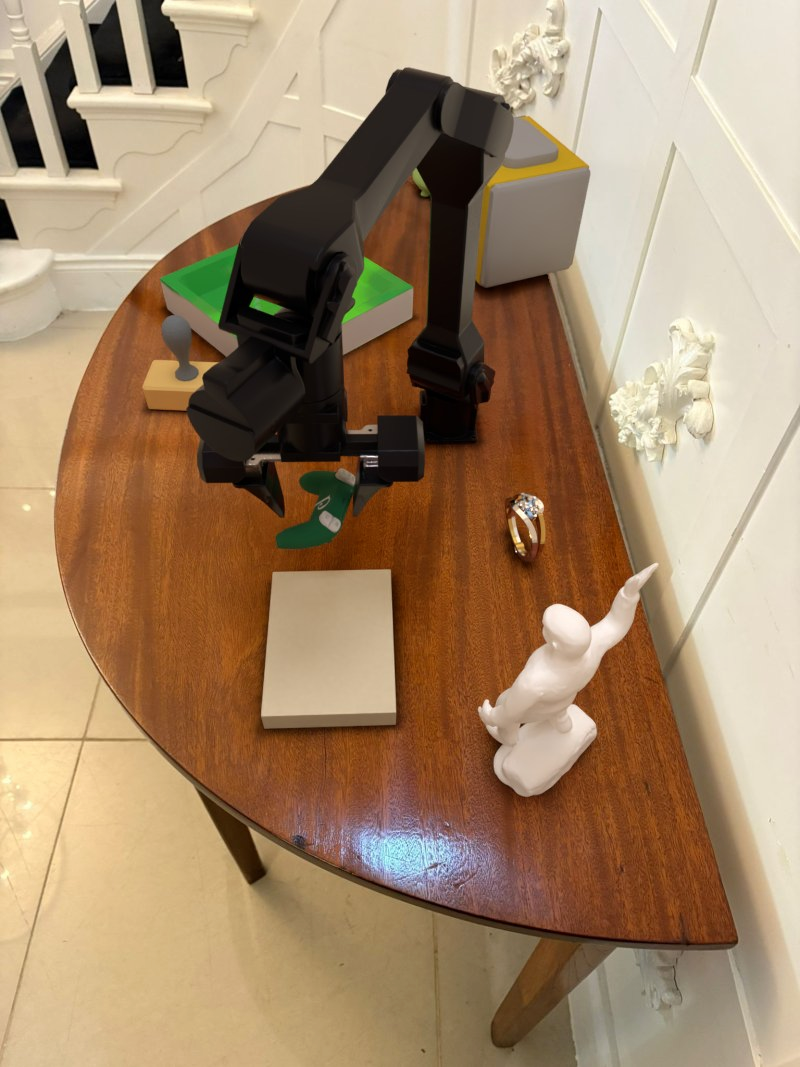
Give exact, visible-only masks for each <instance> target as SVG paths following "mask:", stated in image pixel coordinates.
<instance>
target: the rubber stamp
mask: <svg viewBox="0 0 800 1067" xmlns="http://www.w3.org/2000/svg"><path fill="white" fill-rule="evenodd" d="M161 336H162V340H163V342H164V344H165V345H166V347H167V348H168V350H170V351H171V353H172V354H173V356H174V357H175V359H176V360H170V359H169V360H167V359H154V360H152V362H151V364H150V367H149V368H148V372H147V374H146V377H145V379H144V382H143V384H142V387H141V388H142V391H143V395H144V399H145V401H146V405H147V407H148V410H164V411H165V410H166V411H185V412H187V410H186V408H187V407H188V402H189V398H190V396H191V395H192V394H193V393H194V392H195V391H196V390H197V389H198V388H200V387H201V386H202V385H203V380H202V377H203V374H204V373H205V372H206V371H208V370H209V369H210V368H211V367H212V366H214V365H215V364H217V363H219V362H220V361H219V362H217V361H216V362H214V361H195V360H194V361H191V360H190V358H189V357H190V351H191V346H192V340H193V336H192V329H191V327H190V325H189V323H188V322H187V321H186V320H185V319H184V318H183V317H181V316H178V315H174V314H172V315H169V316H167V317H165V319H164V320H163V321H162V323H161Z"/></svg>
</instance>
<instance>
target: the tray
mask: <svg viewBox="0 0 800 1067" xmlns="http://www.w3.org/2000/svg"><path fill="white" fill-rule="evenodd" d="M238 245H239V244H237V245H234V246H232V247H229V248H227V249H225V250H222V251H220V252H218V253H215V254H213V255H211V256H208V257H206V258H203V259H201V260H198V261H196V262H194V263H192V264H190V265H186V266H185V267H183V268H180V269H177V270H176V271H173V272H170V273H168V274H166V275H164V276H161V277H160V278H159V281H160V286H161V290H162V293H163V297H164V301H165V306H166V309H167V310H168V311H169V312H170V313H171V314H172V315H178V316H181V317H183V318H184V319H185V320H186V321H187V322H188V323H189V325H190V327H191V330H193V331H194V332H195V333H196V334H197V335H199V337H201V338H202V339H204V340H205V341H206V342H207V343H209V344H210V345H211V346H212V347H214V348H215V349H216V350H217V351H219V352H220V353H221V354H222V355H224V356H225V358H226V357H227V356H228V355H230V354H231V353H232V352H233V351H234V350H235V349H237V348H238V342H237V336H236V335H233V334H231V333H228V332H225V331H223V330H220V329H219V327H218V324H219V320H220V316H221V312H222V308H223V304H224V300H225V296H226V292H227V288H228V284H229V280H230V276H231V272H232V268H233V264H234V260H235V256H236V252H237V248H238ZM352 297H353V298H354V299H355V305H354V307H353V308H352V309H351V310H350V311H348V312H347V313H346V314H345V316H344V318H343V321H342V344H343V356H344V355H346V354H348V353H349V352H352V351H354V350H356V349H357V348H359V347H361V346H363V345H364V344H366V343H368V342H370V341H372V340H374V339H376V338H377V337H379V336H381V335H383V334H385V333H387V332H389V331H391V330H392V329H394V328H396V327H398V326H400V325H402V324H403V323H406V322H407V321H409V320H411V319H412V318H413V308H414V286H412V284H409V283H408V282H406V281H405V280H403V279H402V278H400V277H398V276H396V275H395V274H393V273H392V272H390V271H389V270H387V269H385V268H383V267H382V266H380V265H378V264H377V263H375V262H373V260H371V259H369V258H368V257H366V256H364V271H363V273H362V274H361V276H360V278H359V280H358V281H357V286H356V288H355V290H354V293H353V295H352ZM249 307H252V308H255V309H257V310H260V311H263V312H266V313H268V314H271V315H274V314H275V313H276V312H277V311H279V310H280V309H281V308H282V307H281V306H278V305H275V304H273V303H270V302H267V301H264V300H261V299H258V298H256V297H254V298H253V300H252V302H251V304H250V306H249Z"/></svg>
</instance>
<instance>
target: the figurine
mask: <svg viewBox="0 0 800 1067" xmlns="http://www.w3.org/2000/svg"><path fill="white" fill-rule="evenodd" d="M658 568H659V562H654V563H652V564H651V565H649V566H647V567H645V568H644V569H642V570H641V571H639V572H638V573H636V574H634V575H633V576H631V577H629V578H628V579H627V580H626V581H625V583H624V586H622V587H621V588H620V589H619V590H618V592H617V594H616V595H615V597H614V600H613V602H612V604H611V606H610V609H609V612H608V613H607V614H606V615H605V616H604V617H603V619H601V620H600V621H598V622H597V623H595V624H593V625H592V626H590V625H589V622H588V620H586V618H585V617H584V616H583V615H582V614H581V613H580V612H578V611H576V610H575V609H573V608H571V607H570V606H567V605H566V604H565V605H564V604H562V603H554V604H551V605H550V606H548V607H547V608H546V609H545V611H544V612H543V616H542V620H541V622H542V625H543V626H542V632H541V633H542V636H543V639H544V640H545V642H546V643H545V644H543V645H541V646H540V647H538V648H536V649H535V650H534V651H533V652H532V653H531V654H530V656H529V657H528V659H527V661H526V663H525V665H524V669H522V670H521V671H520V673H519V674H518V676H517V677H516V679H515V680H514V682H513V683H512V685H511V686H510V687H509V688H507V689H505V690H504V691H503V692H502V693H500V695H498V697H497V699H496V701H495V705H494V707H492V705H491V704H490V699H488V698H487V699H485V700H484V701H483V704H482V706H478V708H477V712H478V716H479V717H480V720H481V722H483V724H484V725H485V728H486V730H487V732H488V734H490V736H491V737H492V738H493V739H495V740H496V741H497V742H499V743H500V744H501V745H500V747H499V748H498V749H497V750H496V753H495V754H494V757H493V770H494V774H495V775H496V777H497V778H498V779H499V781H500V782H502V784H504V785H506V786H508V787H510V788H511V789H512V790H514V792H515V793H516V794H517V795H518V796H521V797H523V798H524V797H525V798H529V797H532V796H538V795H542V794H543V793H545V792H546V791H548V790H549V789H550V788H552V787H554V785H555V784H557V782H558V781H559V780H560V779H561V778H562V776H564V775H565V774H566V773H567V772H569V771H570V770H571V768H572V767H573V765H575V763H576V762H577V761H578V759H579V758H580V756H581V755H582V754H583V753H584V752H585V751H586V750H587V749H588V747H590V745H591V744H592V742H593V741H595V739H596V737H597V735H598V728H597V724H596V723H595V721H594V720H593V719H592V718H591V717H590V716H589V715H588V714H587V713H586V712H585V711H584V710H582V709H581V708H580V707H579V706H578V705H576V704H575V703H573V702H574V700H575V699H576V697H577V694H578V693H579V692H580V691H581V690H583V689H584V688H585V687H586V686H587V685H588V683H589V682H590V681H591V680H592V679H593V677H594V676H595V674H596V672H597V670H598V669H599V666H600V664H601V661H602V658H603V657H604V655H605V654H606V652H608V650H610V649H612V648H613V647H615V646H616V645H617V644H618V643H619V642H621V641H622V640H623V639H624V638H625V636H626V635H627V634H628V632H629V631H630V629H631V627H632V624H633V623H634V620H635V615H636V610H637V606H638V603H639V601H640V597H641V594H640V592H639V591H640V590H641V589H642V588H643V586H644V585H645V584H646V582H647V581H648V580H649V579H650V578H651V577H652V575H653V573H654V572H655V571H656V570H657V569H658ZM521 724H523V725H522V726H521Z"/></svg>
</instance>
